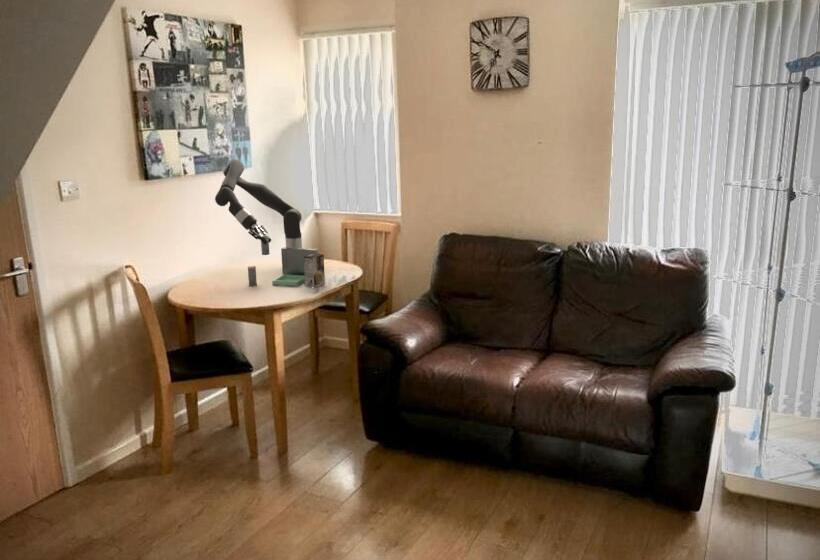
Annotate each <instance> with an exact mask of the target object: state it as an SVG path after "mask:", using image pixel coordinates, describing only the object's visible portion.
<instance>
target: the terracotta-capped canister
mask: <svg viewBox="0 0 820 560" xmlns="http://www.w3.org/2000/svg"><path fill="white" fill-rule="evenodd" d="M247 275H248V286H249V285H256V284H258V283H257V267H256V265H248V266H247ZM256 286H257V285H256Z"/></svg>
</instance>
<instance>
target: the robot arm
mask: <svg viewBox="0 0 820 560" xmlns="http://www.w3.org/2000/svg"><path fill="white" fill-rule="evenodd" d="M244 170H245V165H244V164H243V163H242V162H241V161H240V160H238V159H231V160H230V161H229V162H228V163H227V165H226V166H225V168H224V169H223V172H222V174H223V176H224V179H223V180H222V183H221V185H220V188H219V189H218V190H217V193H216V195H215V197H214V201H215V203H216V205H218V206H220V207H225V206H227V205H228V204H229V207H228V209H227V210H228V211H229V213H230V214H231V215H232V216H233V217H234V218H235V219H236V221H237V222H238V223H239V224H240V225H241V226H242V227H243V228H244V229H245V230H246V231H248V230H249V231H248V232H247V233H248V234H249V235H250V236H252V237H253V239H255V240H259V241H260V242H261V241H262V242H263V243H264V244H266V243H267V242H268V241H267V240H266V239H265V238H264V237H263V236H262V235H268V234H269V232H268V231H267V230H266V228H265V227H264V225H263V224H262V225H259V224H258V223H257V222H258V219H257V218H255V216H254V215H253V214H252V213H251V212H249V211H248V210H247V209H246V208H245V207H244V206H243V205H242V204H241V203H240V201H239V199H238V197H237V196H236V194H235V192H234V191H235V188H236V185H237V186H238V187H239V188H241V189H243V190H244V191H245V192H247V193H248V194H250V196H252V197H253V198H254V199H256V201H257V202H259V203H261V204H262V205H264V206H265V207H267V208H269V209H272V210H274V211H275V212H277V213H278V214H280V215H281V216H282V217H283V221H282V222H283V231H284V232H283V233H284V235H285V247H286V248H303V242H302V240H303V239H302V237H303V236H302V232H301V227H300V226H301V224H300V223H301V221H302V214H301V212H300V211H299V210H298V209H296V208H295V207H293V206H292V205H290V204H289V203H287V202H285V201H284V200H283V199H282V198H281V197H279V195H278V194H276V193H275V192H274V191H273V190H271V189H270V188H269V187H267V185H265V184H262V183H257V182H251V181H247V180H245V179H244V178H242V177H241V176H242V174H243V173H244ZM268 239H269V243H271V242H272V239H271V238H270V236H268Z"/></svg>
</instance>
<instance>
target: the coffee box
mask: <svg viewBox="0 0 820 560" xmlns="http://www.w3.org/2000/svg"><path fill="white" fill-rule="evenodd" d="M324 257H325V256H324V254H322V253H319V252H318V253H313V254H310V255H307V256H304V269H305V282H304V284H305V285H304V286H305V287H306V286H307V287H306V288H312V287H313V288H312V289H315V288H318V287H321V286H322V285H326V275H325V259H324Z"/></svg>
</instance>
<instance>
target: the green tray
mask: <svg viewBox="0 0 820 560" xmlns="http://www.w3.org/2000/svg"><path fill="white" fill-rule="evenodd" d="M271 281H272V286H278V285H285V286H284V287H294V286H297V287H298V285H299V286H301V284H303V283H304V284H305V276H302V275H284V274H283V273H282V274H281V275H280V276H278V277H276V278H274V279H272V280H271Z"/></svg>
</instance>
